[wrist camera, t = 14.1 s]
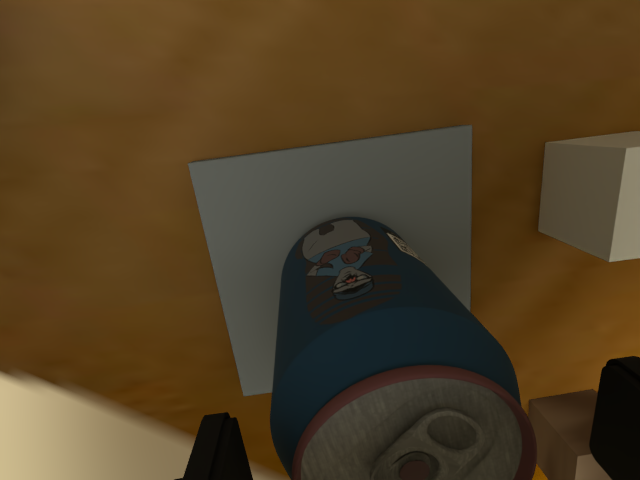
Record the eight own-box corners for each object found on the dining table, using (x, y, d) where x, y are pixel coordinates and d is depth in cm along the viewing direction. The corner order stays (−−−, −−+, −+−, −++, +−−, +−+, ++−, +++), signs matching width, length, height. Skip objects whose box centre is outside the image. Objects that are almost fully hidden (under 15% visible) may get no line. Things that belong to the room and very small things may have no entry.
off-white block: (634, 131, 19) (744, 133, 15) (620, 219, 21) (715, 247, 16) (544, 142, 19) (626, 148, 14) (537, 230, 21) (609, 262, 16)
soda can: (353, 347, 21) (423, 610, 10) (256, 284, 19) (203, 512, 8) (433, 259, 20) (624, 446, 8) (336, 183, 18) (408, 286, 7)
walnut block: (591, 388, 25) (653, 443, 21) (585, 438, 26) (642, 498, 22) (528, 399, 25) (577, 456, 20) (525, 448, 26) (571, 511, 22)
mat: (463, 124, 19) (472, 125, 18) (462, 352, 23) (469, 361, 22) (193, 161, 18) (187, 163, 17) (246, 384, 23) (243, 396, 22)
